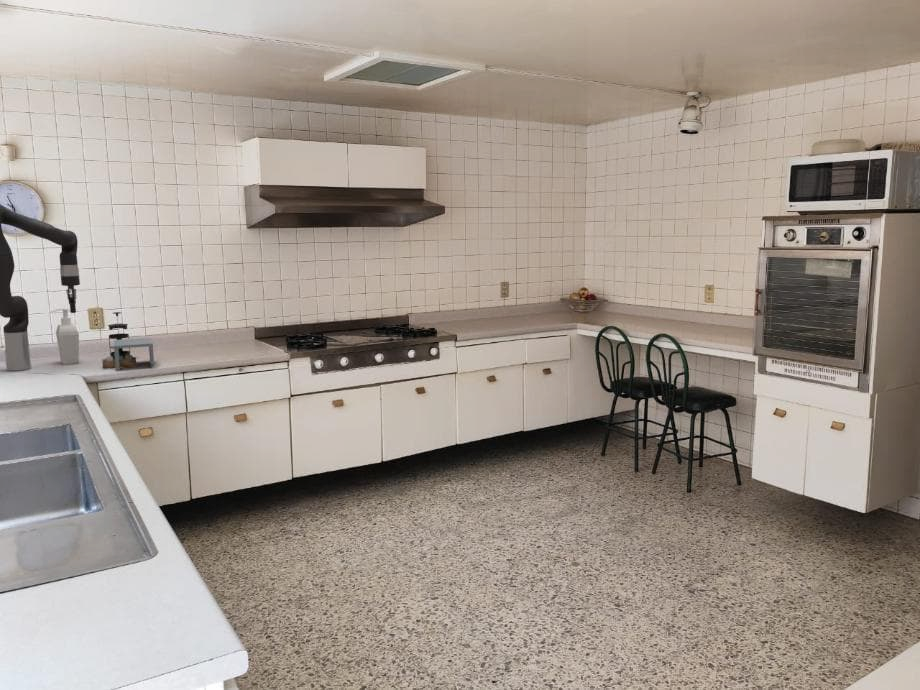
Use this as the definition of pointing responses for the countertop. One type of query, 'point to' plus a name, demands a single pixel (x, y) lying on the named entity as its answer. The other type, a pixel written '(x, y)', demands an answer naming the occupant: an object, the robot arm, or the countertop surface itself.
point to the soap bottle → (67, 339)
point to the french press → (118, 337)
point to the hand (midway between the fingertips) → (73, 312)
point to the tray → (123, 362)
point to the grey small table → (133, 343)
